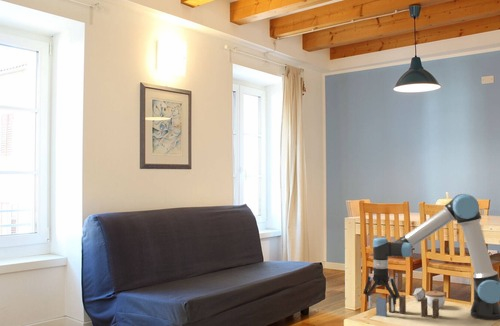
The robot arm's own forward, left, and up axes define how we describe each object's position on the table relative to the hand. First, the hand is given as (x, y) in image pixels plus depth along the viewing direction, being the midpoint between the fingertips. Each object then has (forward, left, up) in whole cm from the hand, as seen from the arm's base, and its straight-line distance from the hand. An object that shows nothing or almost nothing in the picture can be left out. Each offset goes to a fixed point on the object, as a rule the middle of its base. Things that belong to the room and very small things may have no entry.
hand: (381, 309), depth 269 cm
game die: (-9, -44, -3) cm, 45 cm away
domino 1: (0, 0, -3) cm, 3 cm away
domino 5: (-25, -11, -3) cm, 28 cm away
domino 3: (-8, -11, -3) cm, 14 cm away
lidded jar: (-20, -33, -3) cm, 39 cm away
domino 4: (-19, -11, -3) cm, 22 cm away
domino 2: (-2, -11, -3) cm, 12 cm away
